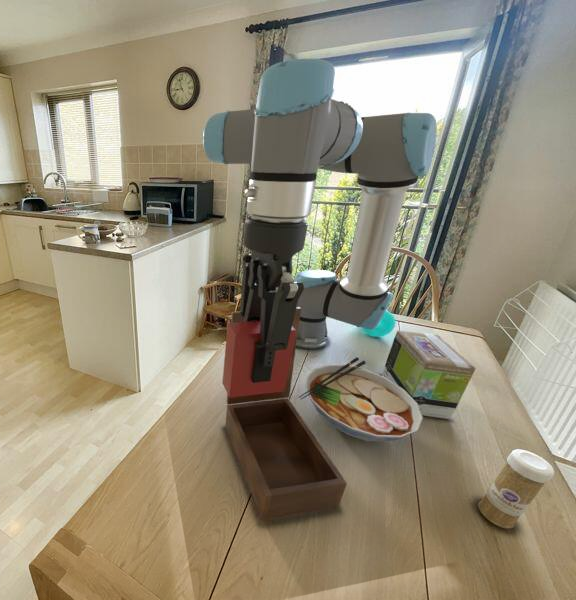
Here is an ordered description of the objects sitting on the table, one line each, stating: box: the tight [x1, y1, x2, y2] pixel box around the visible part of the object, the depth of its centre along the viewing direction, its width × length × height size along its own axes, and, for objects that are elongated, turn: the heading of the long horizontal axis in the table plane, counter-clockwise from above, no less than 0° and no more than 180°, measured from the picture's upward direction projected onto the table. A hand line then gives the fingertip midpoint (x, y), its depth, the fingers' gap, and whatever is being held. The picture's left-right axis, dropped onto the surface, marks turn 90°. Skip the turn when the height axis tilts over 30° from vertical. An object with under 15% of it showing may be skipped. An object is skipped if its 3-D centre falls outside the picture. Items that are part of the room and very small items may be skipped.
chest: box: [224, 398, 348, 521], centre depth 60 cm, size 20×14×7 cm
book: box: [222, 321, 296, 398], centre depth 47 cm, size 4×9×11 cm, turn 100°
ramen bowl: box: [298, 356, 424, 442], centre depth 70 cm, size 25×23×8 cm
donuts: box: [361, 309, 397, 338], centre depth 107 cm, size 10×10×10 cm
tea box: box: [381, 330, 476, 420], centre depth 76 cm, size 15×10×15 cm
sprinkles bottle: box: [477, 448, 555, 530], centre depth 50 cm, size 5×5×13 cm
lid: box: [226, 307, 301, 405], centre depth 64 cm, size 21×14×1 cm
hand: (254, 371), depth 48 cm, fingers closed on book, 3 cm apart
